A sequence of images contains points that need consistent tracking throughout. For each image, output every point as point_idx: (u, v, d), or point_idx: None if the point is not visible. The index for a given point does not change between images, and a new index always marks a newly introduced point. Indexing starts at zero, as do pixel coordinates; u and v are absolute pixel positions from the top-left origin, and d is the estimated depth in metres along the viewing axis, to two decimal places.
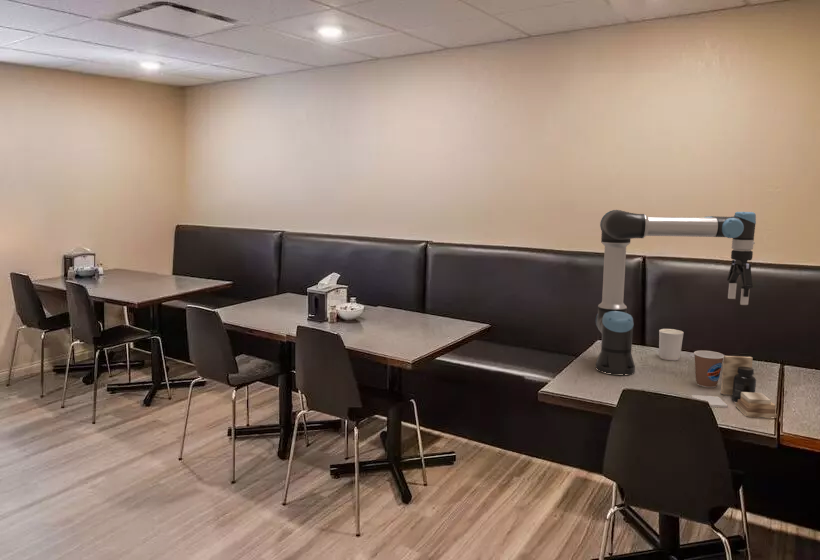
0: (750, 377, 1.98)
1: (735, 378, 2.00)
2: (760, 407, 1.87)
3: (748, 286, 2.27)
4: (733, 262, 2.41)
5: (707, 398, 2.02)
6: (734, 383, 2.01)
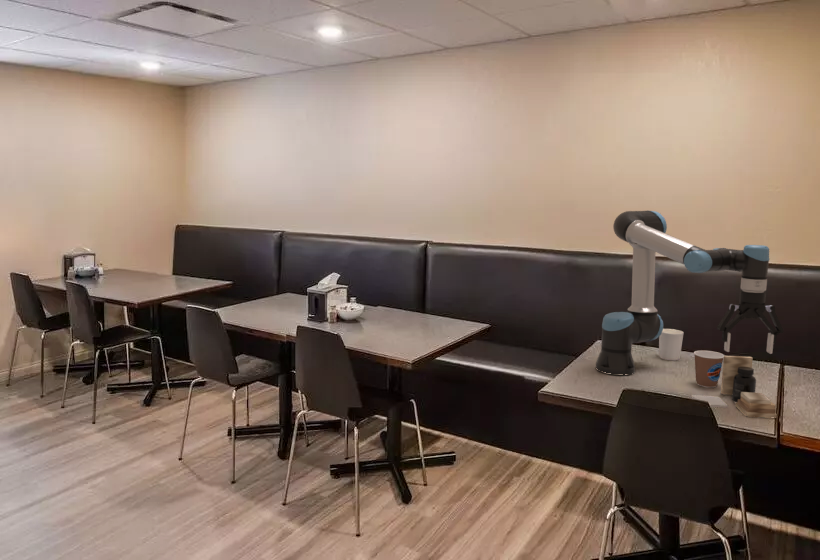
0: (750, 377, 1.98)
1: (735, 378, 2.00)
2: (760, 407, 1.87)
3: (718, 328, 2.00)
4: None
5: (707, 398, 2.02)
6: (734, 383, 2.01)
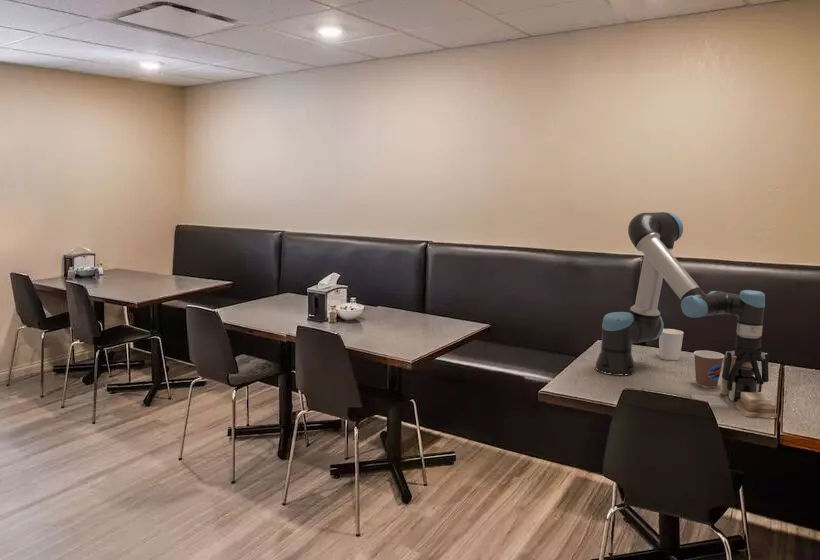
0: (750, 377, 1.98)
1: (735, 378, 2.00)
2: (760, 407, 1.87)
3: (723, 377, 2.02)
4: None
5: (707, 398, 2.02)
6: None
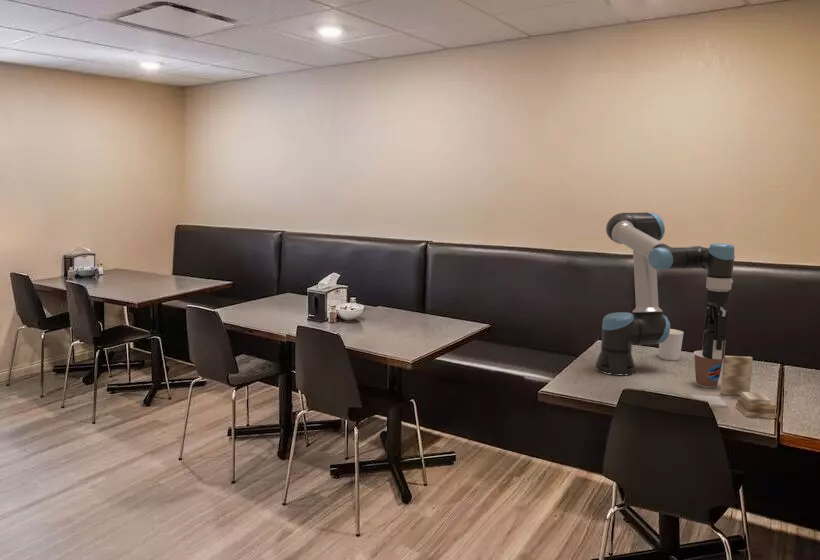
0: None
1: None
2: (760, 407, 1.87)
3: (721, 338, 1.90)
4: (708, 305, 2.01)
5: (707, 398, 2.02)
6: None
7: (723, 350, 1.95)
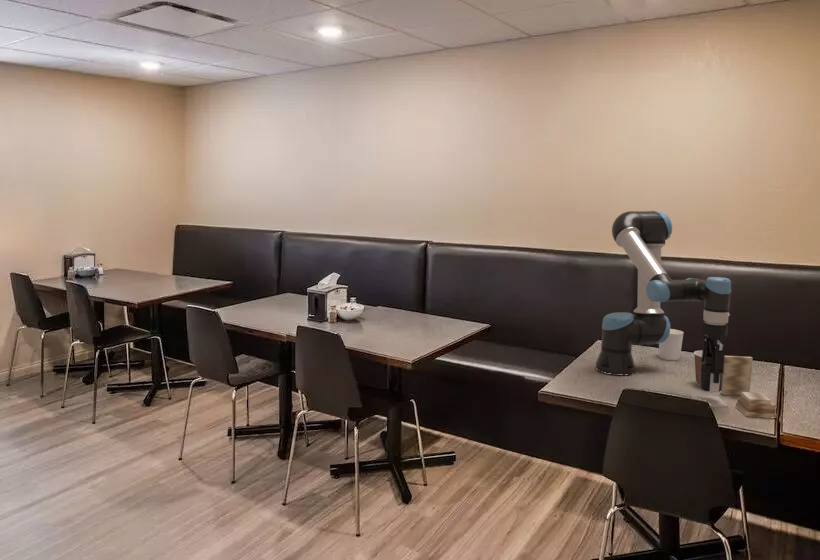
0: None
1: None
2: (760, 407, 1.87)
3: (718, 372, 1.92)
4: (705, 338, 2.03)
5: (707, 398, 2.02)
6: None
7: (720, 383, 1.97)
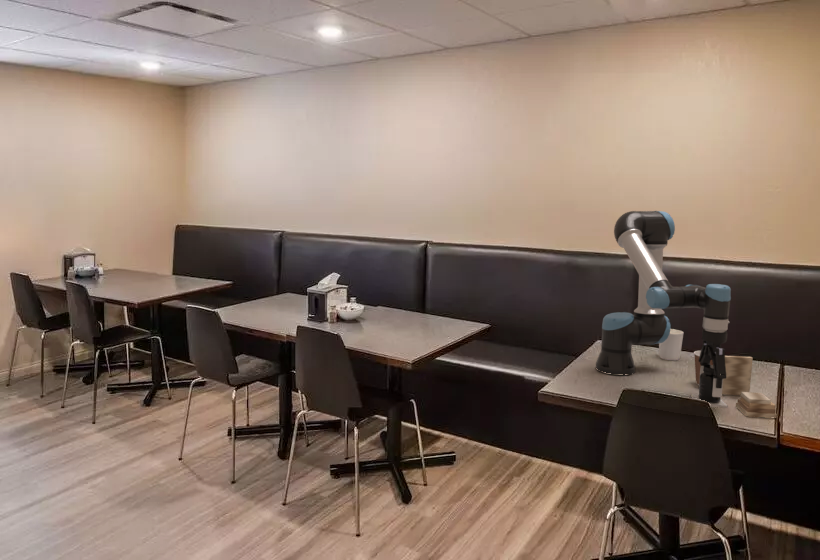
0: None
1: None
2: (760, 407, 1.87)
3: (721, 377, 1.89)
4: (705, 342, 2.03)
5: None
6: None
7: None
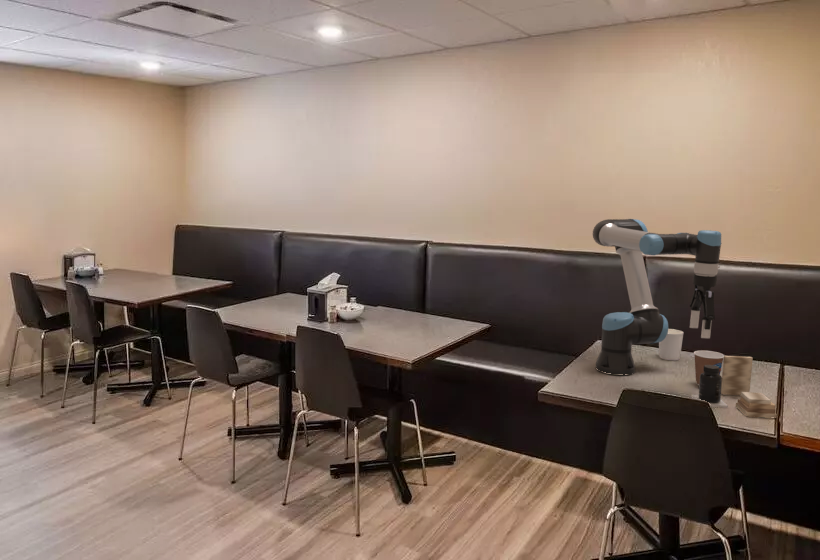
0: None
1: (716, 380, 1.96)
2: (760, 407, 1.87)
3: (710, 318, 1.97)
4: (696, 287, 2.11)
5: None
6: (715, 385, 1.96)
7: (719, 394, 1.97)
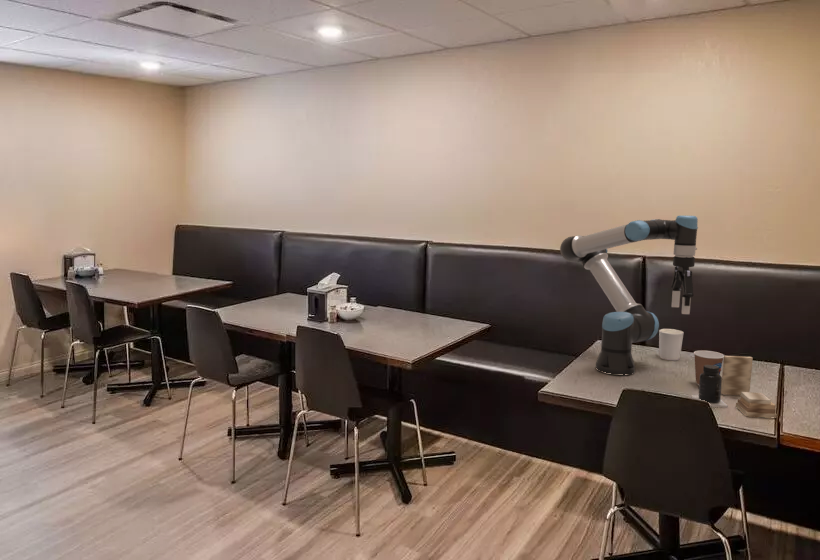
0: None
1: (715, 379, 1.96)
2: (760, 407, 1.87)
3: (689, 294, 2.14)
4: (676, 269, 2.28)
5: None
6: (714, 385, 1.96)
7: (719, 394, 1.97)
